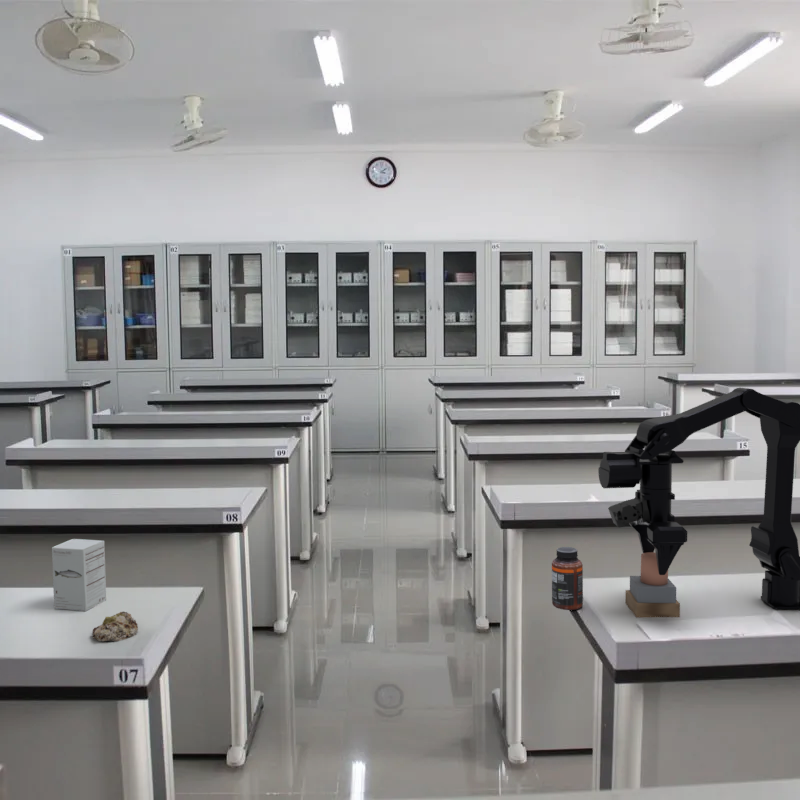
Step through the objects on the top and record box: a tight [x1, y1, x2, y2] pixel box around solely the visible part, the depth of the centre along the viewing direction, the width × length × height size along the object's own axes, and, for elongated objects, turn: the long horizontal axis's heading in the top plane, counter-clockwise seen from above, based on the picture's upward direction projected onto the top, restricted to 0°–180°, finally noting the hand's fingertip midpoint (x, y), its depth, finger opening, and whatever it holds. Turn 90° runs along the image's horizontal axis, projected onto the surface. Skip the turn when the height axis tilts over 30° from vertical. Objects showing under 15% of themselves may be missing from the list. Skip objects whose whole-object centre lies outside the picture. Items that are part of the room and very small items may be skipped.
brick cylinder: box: [640, 551, 669, 586], centre depth 153 cm, size 5×5×5 cm
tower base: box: [624, 589, 681, 619], centre depth 154 cm, size 8×8×3 cm
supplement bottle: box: [551, 546, 584, 611], centre depth 156 cm, size 6×6×11 cm
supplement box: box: [51, 538, 107, 612], centre depth 161 cm, size 7×7×13 cm
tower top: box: [629, 575, 677, 603], centre depth 153 cm, size 7×7×3 cm
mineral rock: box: [92, 611, 139, 642], centre depth 146 cm, size 11×4×8 cm
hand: (654, 567), depth 153 cm, fingers open, 9 cm apart
